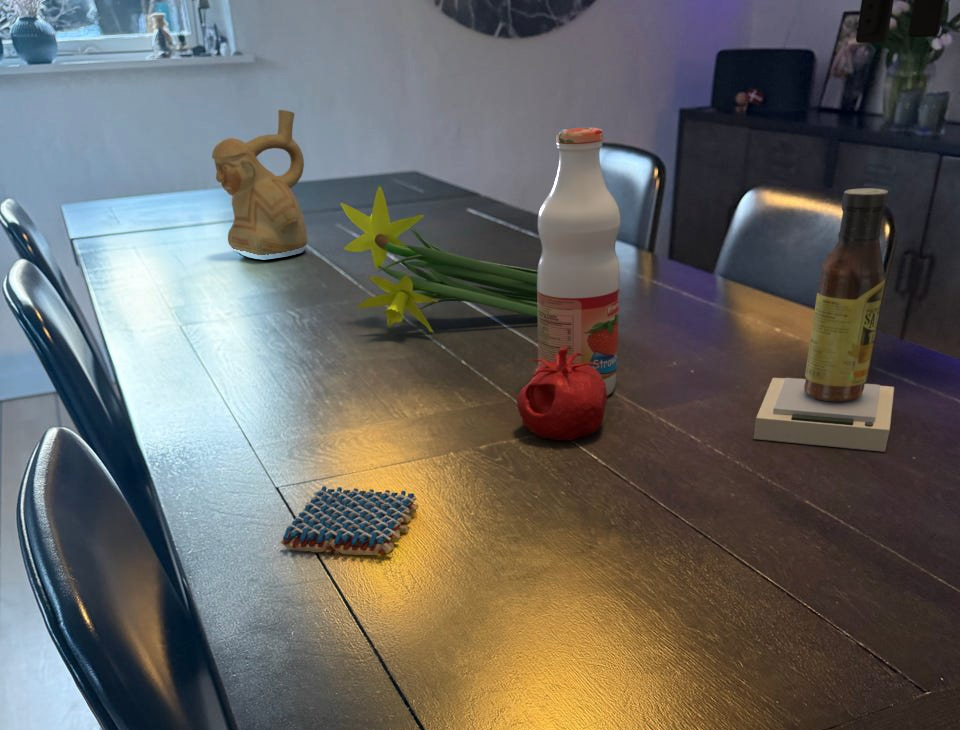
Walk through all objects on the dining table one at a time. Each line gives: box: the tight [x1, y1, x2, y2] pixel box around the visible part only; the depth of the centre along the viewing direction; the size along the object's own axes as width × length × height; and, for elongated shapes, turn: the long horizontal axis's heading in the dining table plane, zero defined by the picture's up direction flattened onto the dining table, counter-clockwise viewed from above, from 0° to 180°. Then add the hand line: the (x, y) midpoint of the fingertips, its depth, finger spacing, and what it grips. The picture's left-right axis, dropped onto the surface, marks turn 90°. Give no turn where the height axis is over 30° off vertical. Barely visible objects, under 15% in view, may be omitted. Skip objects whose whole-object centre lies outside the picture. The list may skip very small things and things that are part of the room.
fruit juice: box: [536, 127, 621, 397], centre depth 105 cm, size 9×9×28 cm
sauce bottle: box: [804, 187, 889, 402], centre depth 94 cm, size 7×6×20 cm
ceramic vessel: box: [211, 109, 308, 255], centre depth 180 cm, size 17×20×25 cm
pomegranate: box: [516, 346, 608, 441], centre depth 100 cm, size 10×10×9 cm
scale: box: [753, 377, 895, 453], centre depth 100 cm, size 13×13×3 cm
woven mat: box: [280, 486, 419, 556], centre depth 85 cm, size 10×11×2 cm
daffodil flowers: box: [339, 185, 538, 333], centre depth 135 cm, size 17×15×35 cm
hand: (897, 39), depth 96 cm, fingers open, 9 cm apart
